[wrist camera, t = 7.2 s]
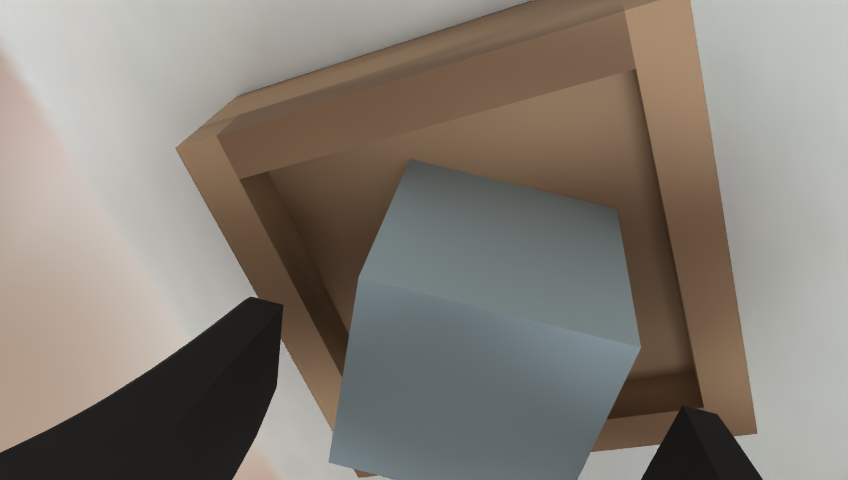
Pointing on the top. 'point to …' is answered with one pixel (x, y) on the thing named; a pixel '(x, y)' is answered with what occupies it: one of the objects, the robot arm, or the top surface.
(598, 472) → the top surface
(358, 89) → the walnut base
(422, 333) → the block
